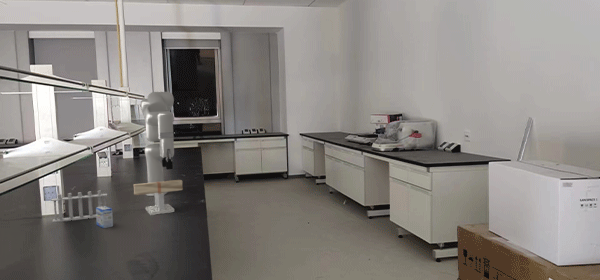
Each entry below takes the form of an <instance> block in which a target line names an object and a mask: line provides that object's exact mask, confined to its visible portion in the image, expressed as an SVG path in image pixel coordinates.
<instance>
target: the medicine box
mask: <svg viewBox="0 0 600 280" xmlns="http://www.w3.org/2000/svg"><path fill="white" fill-rule="evenodd" d="M95 215H96V218H95V219H96V226H98V227H99V228H102V229H107V228H112V227H113V226H114V220H113V219H114V218H113V208H111V207H109V206H107V205H106V206H104V205H102V206H101V207H98V206H96V207H95Z"/></svg>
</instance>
